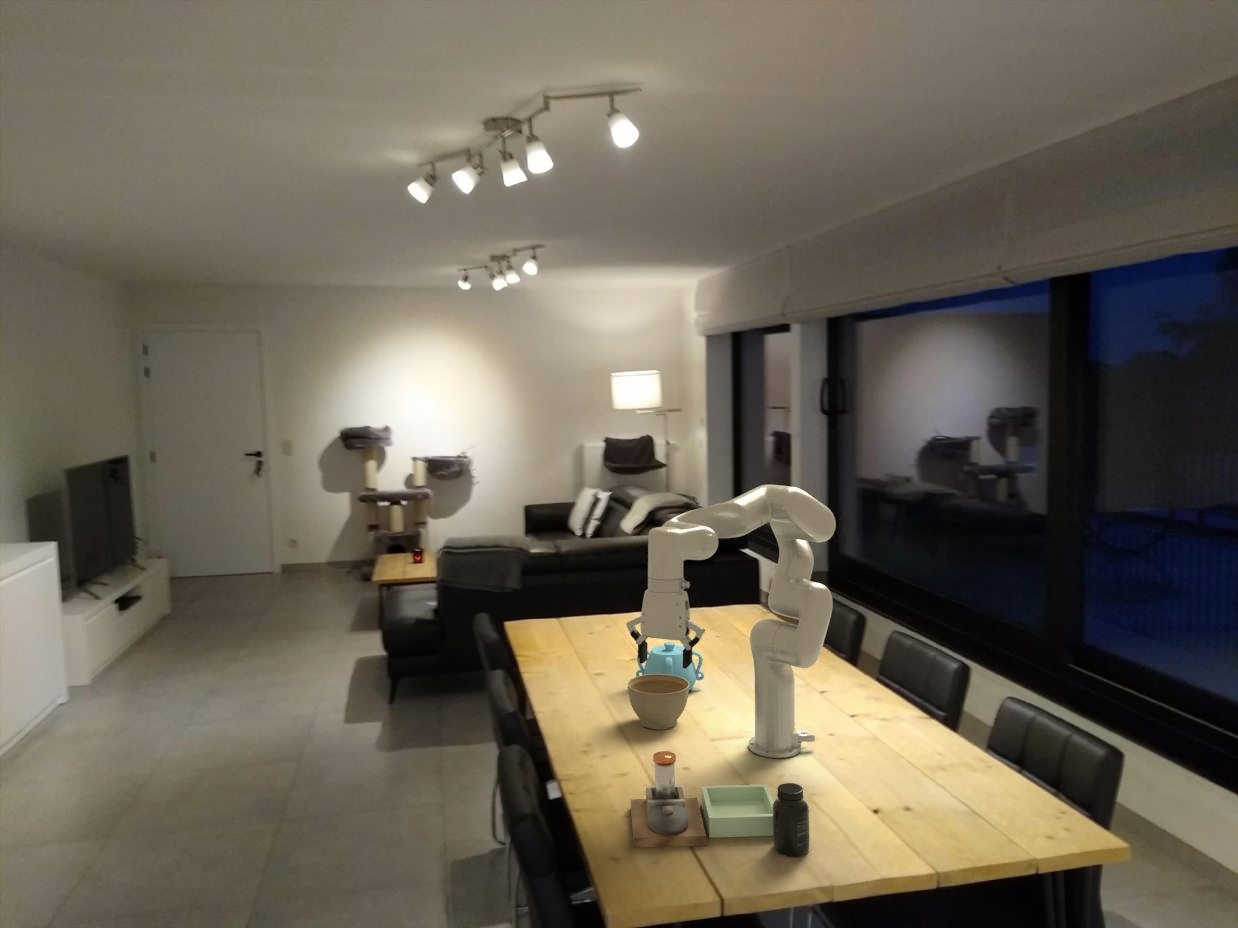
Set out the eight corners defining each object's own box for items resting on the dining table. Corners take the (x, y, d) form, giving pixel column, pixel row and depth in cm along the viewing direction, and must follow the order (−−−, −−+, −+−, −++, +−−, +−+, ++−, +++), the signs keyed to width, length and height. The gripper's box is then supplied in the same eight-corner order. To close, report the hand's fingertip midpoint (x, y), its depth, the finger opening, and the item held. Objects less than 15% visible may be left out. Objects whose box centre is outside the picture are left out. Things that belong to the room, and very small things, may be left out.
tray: (767, 802, 190) (767, 784, 190) (780, 835, 176) (780, 815, 176) (701, 804, 190) (701, 785, 189) (709, 837, 176) (709, 817, 175)
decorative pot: (676, 675, 274) (675, 632, 272) (709, 690, 260) (708, 644, 259) (632, 686, 265) (631, 641, 264) (663, 701, 251) (662, 654, 250)
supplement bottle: (804, 838, 175) (804, 779, 174) (813, 857, 168) (813, 795, 167) (769, 840, 174) (769, 780, 173) (776, 858, 168) (776, 796, 167)
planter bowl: (685, 737, 226) (685, 695, 225) (622, 733, 229) (622, 691, 228) (693, 713, 242) (692, 674, 241) (634, 710, 245) (633, 671, 244)
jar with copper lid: (675, 801, 187) (674, 750, 186) (677, 812, 182) (676, 759, 181) (653, 802, 187) (652, 751, 186) (654, 812, 182) (653, 760, 181)
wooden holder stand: (697, 806, 189) (696, 781, 188) (706, 845, 173) (705, 818, 172) (630, 808, 188) (630, 783, 188) (633, 847, 173) (633, 820, 172)
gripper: (709, 585, 191) (708, 664, 193) (633, 579, 198) (632, 655, 199) (699, 592, 184) (698, 673, 186) (621, 585, 191) (620, 664, 192)
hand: (664, 664), depth 192 cm, fingers open, 9 cm apart
